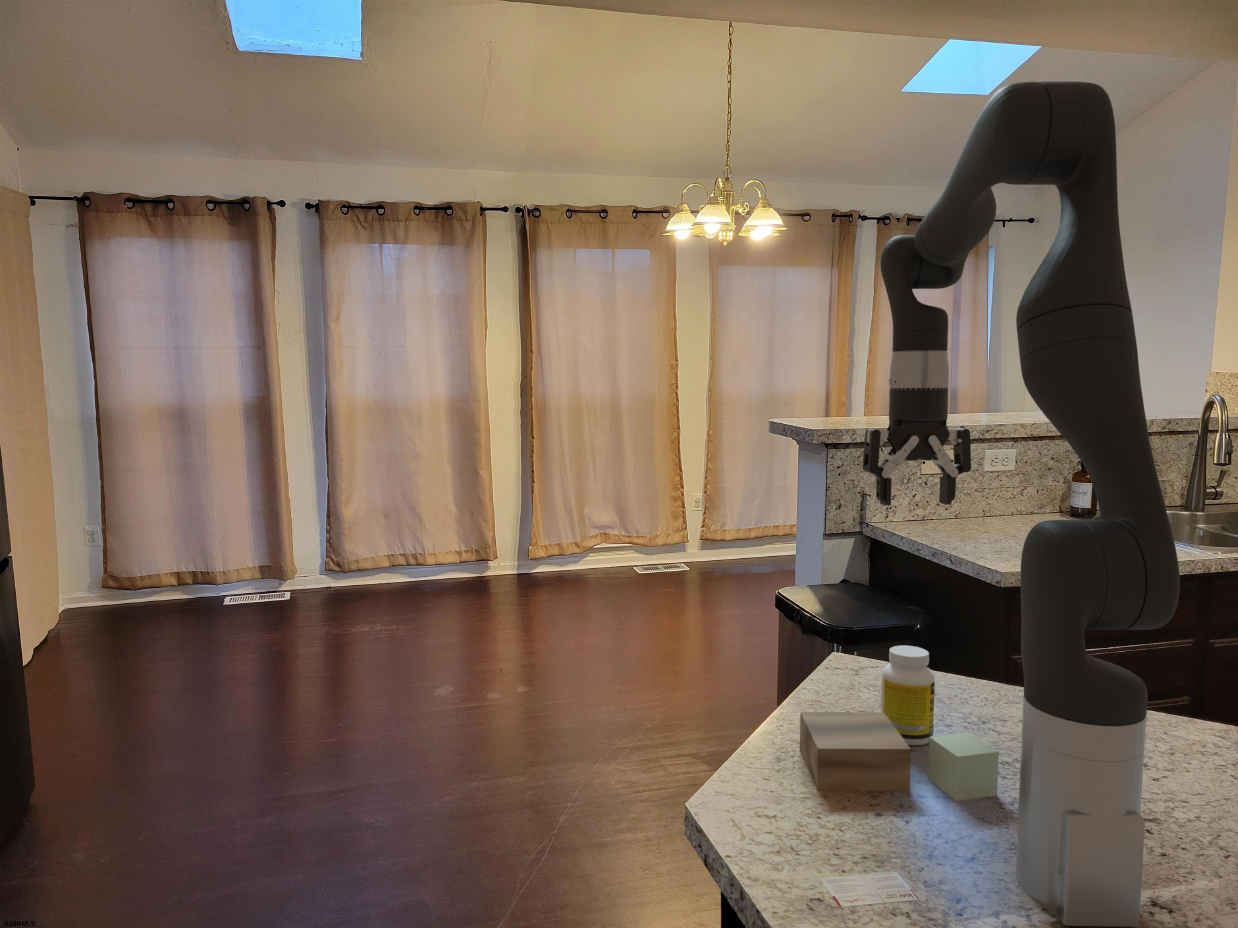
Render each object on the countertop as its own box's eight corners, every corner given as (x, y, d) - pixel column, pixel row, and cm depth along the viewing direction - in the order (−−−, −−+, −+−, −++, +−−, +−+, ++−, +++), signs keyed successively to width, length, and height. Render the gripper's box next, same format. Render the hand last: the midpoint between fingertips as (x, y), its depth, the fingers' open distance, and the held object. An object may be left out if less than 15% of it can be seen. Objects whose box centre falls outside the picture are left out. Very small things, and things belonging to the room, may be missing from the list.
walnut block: (909, 793, 90) (910, 748, 90) (817, 792, 90) (818, 748, 90) (883, 752, 100) (883, 712, 99) (799, 751, 100) (800, 712, 100)
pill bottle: (940, 747, 101) (943, 659, 99) (889, 747, 101) (891, 659, 100) (922, 726, 107) (925, 642, 106) (874, 726, 107) (876, 642, 106)
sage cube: (997, 796, 89) (998, 751, 88) (955, 801, 88) (957, 756, 87) (967, 774, 94) (969, 732, 93) (928, 779, 93) (929, 736, 92)
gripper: (878, 385, 108) (875, 509, 109) (983, 385, 109) (979, 507, 110) (857, 386, 115) (855, 501, 116) (955, 385, 116) (952, 500, 118)
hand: (915, 504), depth 113 cm, fingers open, 8 cm apart
